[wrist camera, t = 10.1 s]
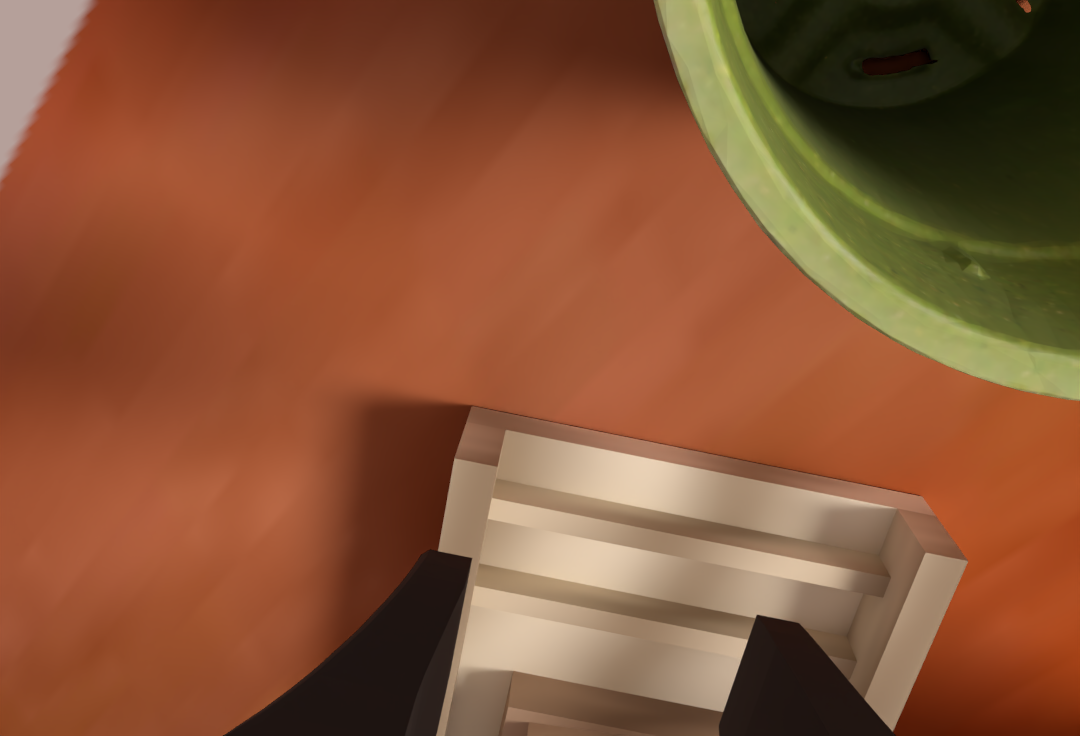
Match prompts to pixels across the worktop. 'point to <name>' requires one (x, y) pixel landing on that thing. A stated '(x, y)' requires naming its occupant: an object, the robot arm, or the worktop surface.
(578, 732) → the offcut upper
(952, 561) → the rack
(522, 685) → the offcut lower
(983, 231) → the plant pot
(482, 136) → the worktop surface
